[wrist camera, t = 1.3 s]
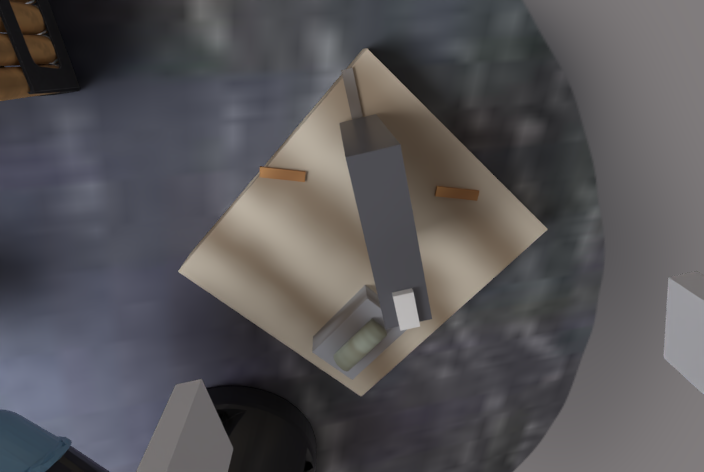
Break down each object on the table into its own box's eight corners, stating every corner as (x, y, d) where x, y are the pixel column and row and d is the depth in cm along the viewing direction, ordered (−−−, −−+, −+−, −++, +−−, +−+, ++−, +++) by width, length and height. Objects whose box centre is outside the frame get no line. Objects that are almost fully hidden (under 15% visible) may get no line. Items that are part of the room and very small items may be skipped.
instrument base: (358, 372, 40) (364, 427, 34) (186, 251, 35) (157, 291, 29) (530, 215, 35) (570, 247, 29) (359, 45, 30) (367, 43, 24)
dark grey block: (339, 122, 28) (346, 159, 19) (376, 113, 28) (401, 146, 19) (368, 248, 32) (386, 334, 22) (401, 241, 32) (434, 323, 22)
